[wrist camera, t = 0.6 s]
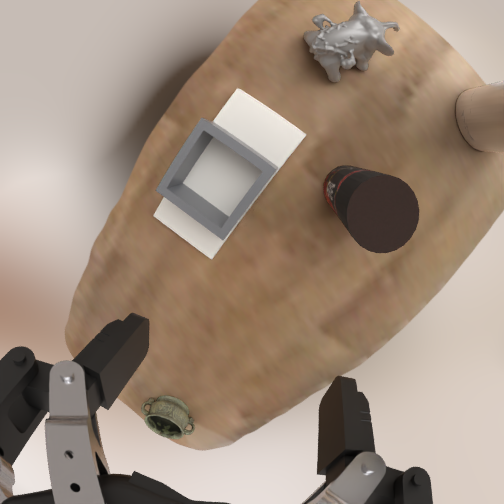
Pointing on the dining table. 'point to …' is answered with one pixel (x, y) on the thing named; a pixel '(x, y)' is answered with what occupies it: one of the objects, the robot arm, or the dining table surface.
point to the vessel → (168, 417)
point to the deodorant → (373, 207)
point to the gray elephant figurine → (348, 41)
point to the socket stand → (224, 171)
